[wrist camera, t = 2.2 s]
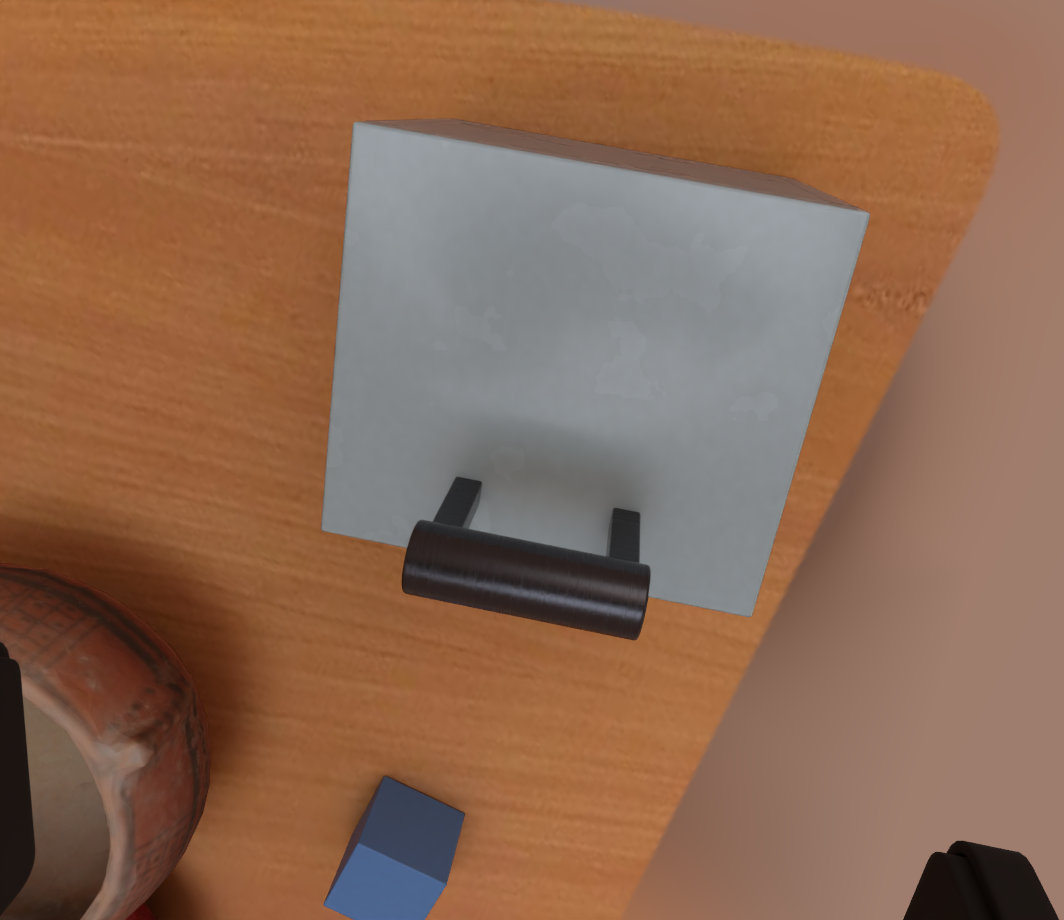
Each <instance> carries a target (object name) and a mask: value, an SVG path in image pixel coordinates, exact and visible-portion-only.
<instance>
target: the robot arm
mask: <svg viewBox="0 0 1064 920" xmlns="http://www.w3.org/2000/svg"><path fill="white" fill-rule="evenodd" d="M34 860H35V838H34V826H33V814H32V802H31V790H30V778H29V766H28V754H27V742H26V730H25V718H24V706H23V694H22V682H21V671H20V667H19V664H18V663H17V661H16V660H14V659H11V658H10V657H9V653H8V649H7V648H6V647H5V645H4V644H3V643H1V642H0V916H1V914H2V913H3V912H4V911H5V910H6V908H7V907H8V906H9V905H10V903H11V902H12V901H13V900H14V898H15V897H16V896H17V895H18V894H19V892H20V891H21V889H22V888H23V887H24V885H25V883H26V881H27V880H28V878H29V876H30V873H31V871H32V868H33V865H34ZM903 920H1059V919H1058V917H1057V915H1056V913H1055V911H1054V909H1053V907H1052V905H1051V903H1050V901H1049V899H1048V897H1047V895H1046V893H1045V891H1044V889H1043V887H1042V885H1041V883H1040V881H1039V879H1038V877H1037V875H1036V873H1035V871H1034V869H1033V867H1032V865H1031V864H1030V862H1029V861H1028V859H1027V858H1026V857H1025V856H1023V855H1022V854H1021V853H1019V852H1015V851H1009V850H1005V849H1000V848H995V847H990V846H986V845H981V844H976V843H971V842H966V841H956V842H955V843H954V844H952V845H951V846H950V848H949V850H948V851H947V853H942V852H935V853H933V854H932V855H931V856H930V858H929V860H928V862H927V864H926V867H925V869H924V871H923V874H922V876H921V878H920V881H919V883H918V886H917V888H916V891H915V893H914V895H913V897H912V900H911V902H910V905H909V907H908V909H907V912H906V914H905V916H904V919H903Z"/></svg>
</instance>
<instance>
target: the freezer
mask: <svg viewBox="0 0 1064 920" xmlns="http://www.w3.org/2000/svg"><path fill="white" fill-rule="evenodd" d="M367 122H373V123H378V124H384V125H390V126H395V127H401V128H407V129H412V130H418V131H424V132H429V133H435V134H441V135H446V136H452V137H458V138H463V139H469V140H475V141H480V142H486V143H491V144H497V145H503V146H508V147H514V148H520V149H525V150H531V151H537V152H542V153H548V154H554V155H559V156H565V157H571V158H576V159H582V160H588V161H593V162H599V163H604V164H610V165H616V166H621V167H627V168H633V169H638V170H644V171H650V172H655V173H661V174H667V175H672V176H678V177H684V178H689V179H695V180H701V181H706V182H712V183H718V184H723V185H729V186H734V187H740V188H746V189H751V190H757V191H763V192H768V193H774V194H780V195H785V196H791V197H797V198H802V199H808V200H814V201H819V202H825V203H831V204H836V205H842V206H847V207H853V208H858V207H856V206H853V205H851V204H849V203H847V202H844V201H842V200H840V199H838V198H836V197H833V196H831V195H829V194H827V193H824V192H822V191H820V190H818V189H816V188H813V187H811V186H809V185H807V184H804V183H802V182H800V181H798V180H796V179H793V178H787V177H782V176H776V175H770V174H765V173H759V172H753V171H748V170H742V169H736V168H730V167H725V166H719V165H713V164H708V163H702V162H696V161H691V160H685V159H679V158H674V157H668V156H662V155H657V154H651V153H645V152H639V151H634V150H628V149H622V148H617V147H611V146H605V145H600V144H594V143H588V142H583V141H577V140H571V139H566V138H560V137H554V136H549V135H543V134H537V133H531V132H526V131H520V130H514V129H509V128H503V127H497V126H492V125H486V124H480V123H475V122H469V121H463V120H458V119H413V120H378V121H367Z"/></svg>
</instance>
